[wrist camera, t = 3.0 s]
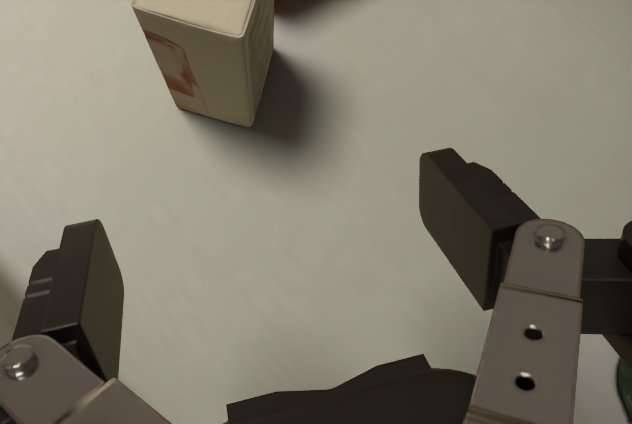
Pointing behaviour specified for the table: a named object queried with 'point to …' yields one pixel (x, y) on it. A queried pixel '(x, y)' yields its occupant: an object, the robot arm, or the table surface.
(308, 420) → the robot arm
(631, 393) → the coffee jar
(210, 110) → the small printed carton
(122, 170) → the table surface
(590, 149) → the table surface
